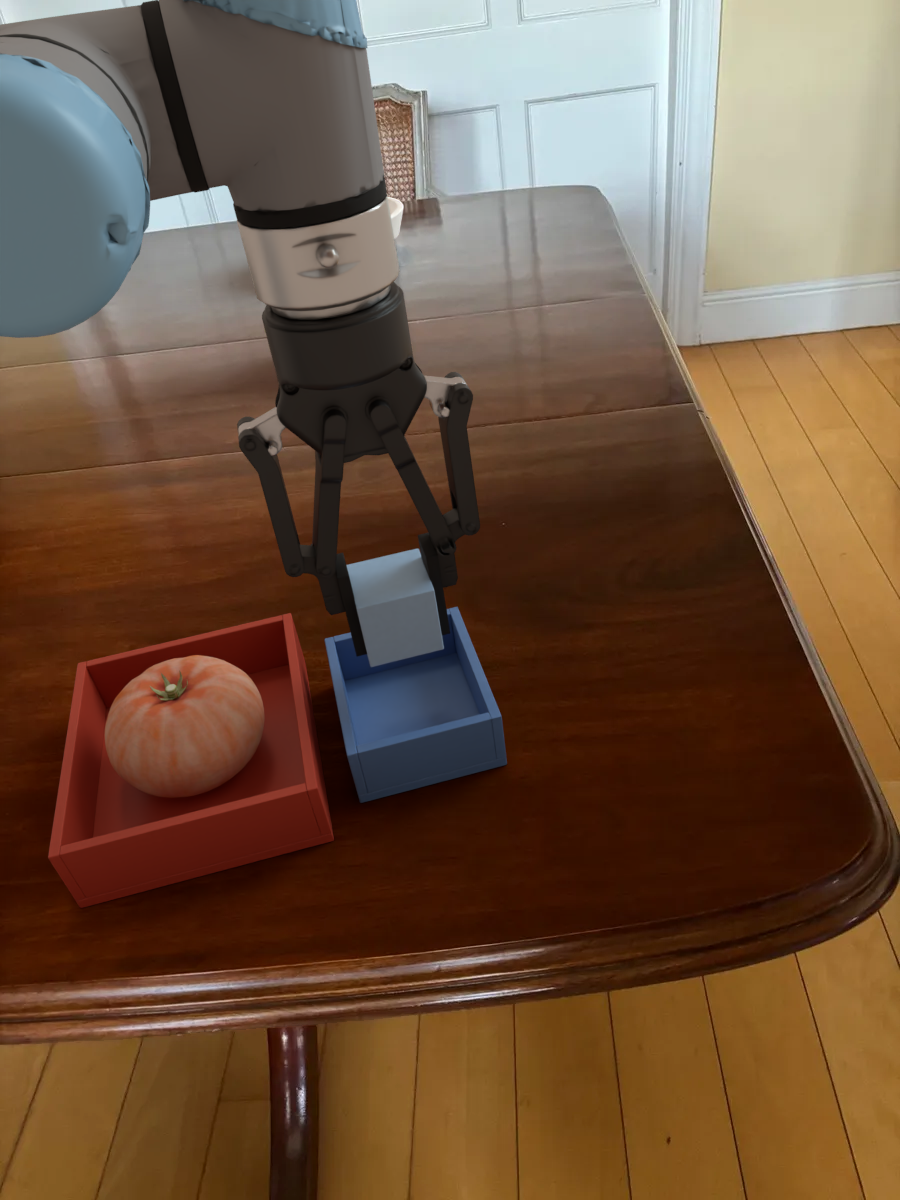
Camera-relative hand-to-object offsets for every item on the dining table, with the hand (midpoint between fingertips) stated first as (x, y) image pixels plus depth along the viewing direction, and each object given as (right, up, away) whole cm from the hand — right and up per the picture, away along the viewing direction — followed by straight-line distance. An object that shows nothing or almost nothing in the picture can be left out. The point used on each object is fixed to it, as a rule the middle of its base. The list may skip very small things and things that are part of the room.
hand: (399, 632), depth 61 cm
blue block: (0, 0, 0) cm, 0 cm away
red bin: (-14, -10, +4) cm, 18 cm away
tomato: (-14, -10, +4) cm, 18 cm away
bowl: (-15, +60, +94) cm, 113 cm away
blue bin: (+1, -7, +5) cm, 9 cm away
